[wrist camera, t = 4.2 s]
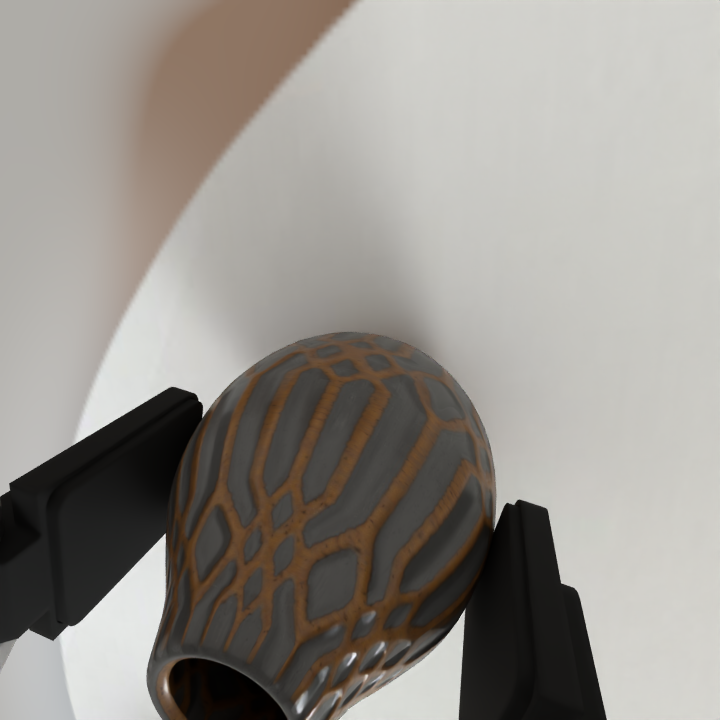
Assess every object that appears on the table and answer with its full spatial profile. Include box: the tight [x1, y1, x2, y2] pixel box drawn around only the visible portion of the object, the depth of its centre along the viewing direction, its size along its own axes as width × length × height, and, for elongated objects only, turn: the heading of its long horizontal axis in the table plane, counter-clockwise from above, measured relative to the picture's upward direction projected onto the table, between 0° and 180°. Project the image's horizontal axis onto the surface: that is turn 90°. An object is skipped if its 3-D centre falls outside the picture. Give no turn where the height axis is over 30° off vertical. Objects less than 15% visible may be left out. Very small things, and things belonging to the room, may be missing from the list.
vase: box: [147, 332, 496, 720], centre depth 10 cm, size 7×7×9 cm
